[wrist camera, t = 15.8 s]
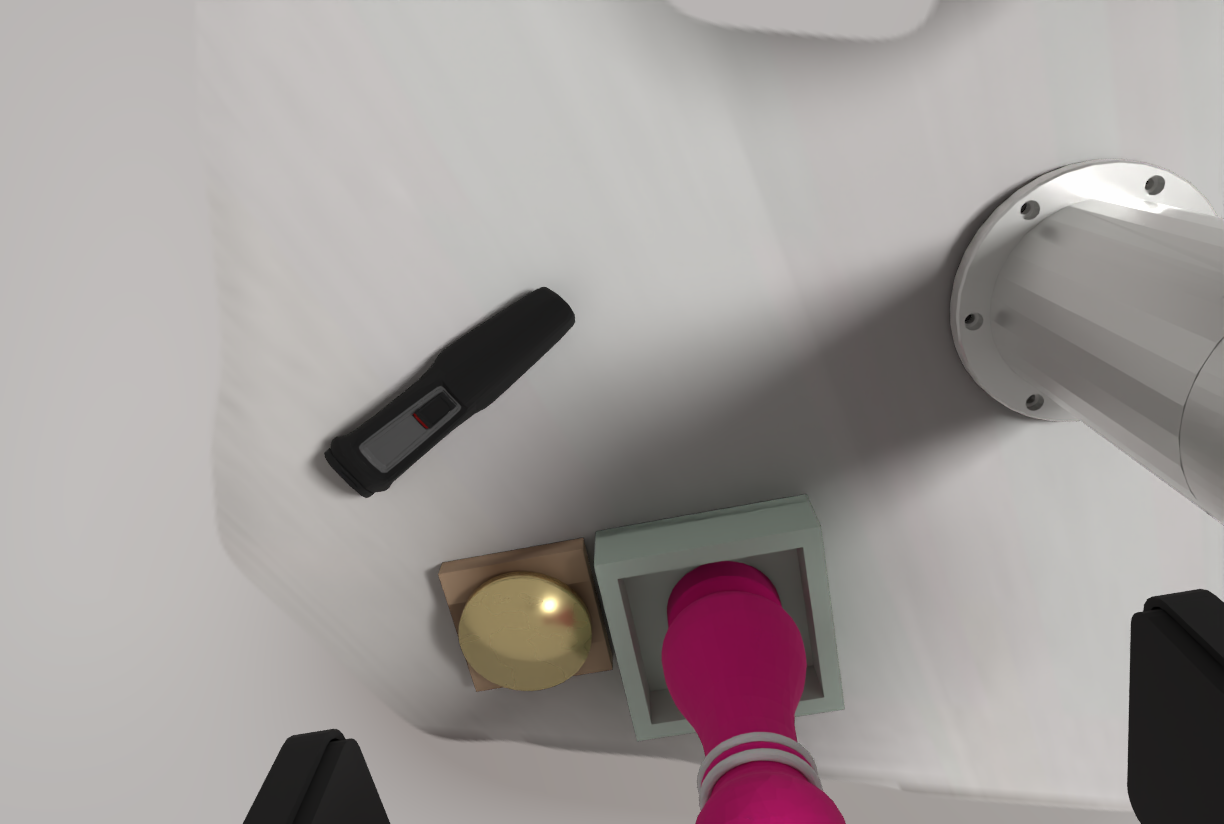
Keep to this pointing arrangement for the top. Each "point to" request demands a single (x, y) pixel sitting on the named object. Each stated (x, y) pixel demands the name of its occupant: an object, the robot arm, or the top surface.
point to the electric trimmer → (451, 391)
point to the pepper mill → (742, 697)
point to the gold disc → (525, 631)
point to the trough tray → (670, 548)
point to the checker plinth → (548, 559)
